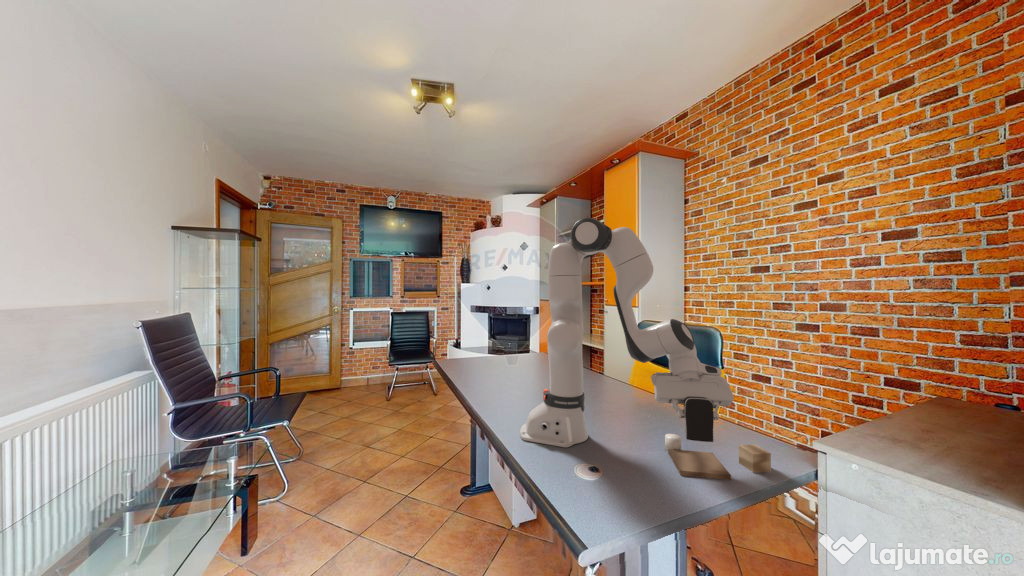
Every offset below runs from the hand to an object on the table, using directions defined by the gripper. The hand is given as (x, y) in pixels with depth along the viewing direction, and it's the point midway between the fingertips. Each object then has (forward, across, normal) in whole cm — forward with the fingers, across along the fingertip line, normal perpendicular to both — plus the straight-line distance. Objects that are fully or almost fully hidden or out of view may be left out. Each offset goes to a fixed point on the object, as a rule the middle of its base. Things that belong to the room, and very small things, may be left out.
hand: (698, 418), depth 92 cm
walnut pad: (+9, 0, +10) cm, 13 cm away
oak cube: (+8, +15, +11) cm, 20 cm away
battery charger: (+4, 0, +5) cm, 6 cm away
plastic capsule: (+3, -4, +16) cm, 17 cm away
